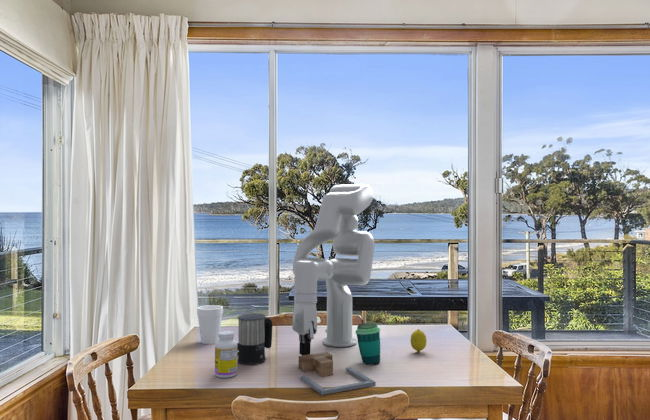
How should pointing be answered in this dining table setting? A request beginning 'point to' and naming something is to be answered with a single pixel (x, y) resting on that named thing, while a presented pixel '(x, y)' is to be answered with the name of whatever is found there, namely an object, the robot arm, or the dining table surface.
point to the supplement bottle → (226, 355)
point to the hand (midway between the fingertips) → (304, 354)
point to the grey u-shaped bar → (322, 391)
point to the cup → (369, 343)
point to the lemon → (418, 340)
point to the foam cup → (209, 322)
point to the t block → (317, 363)
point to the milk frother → (253, 338)
